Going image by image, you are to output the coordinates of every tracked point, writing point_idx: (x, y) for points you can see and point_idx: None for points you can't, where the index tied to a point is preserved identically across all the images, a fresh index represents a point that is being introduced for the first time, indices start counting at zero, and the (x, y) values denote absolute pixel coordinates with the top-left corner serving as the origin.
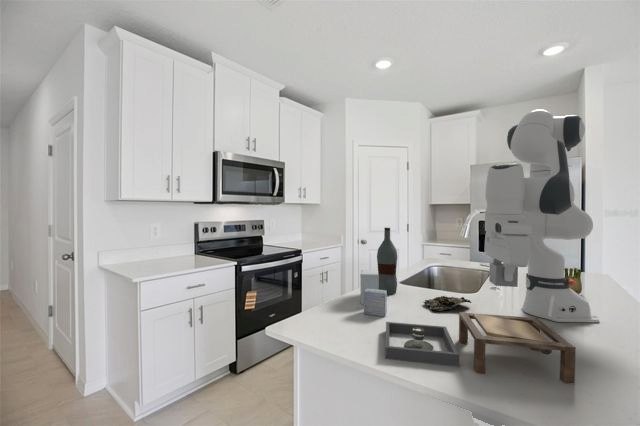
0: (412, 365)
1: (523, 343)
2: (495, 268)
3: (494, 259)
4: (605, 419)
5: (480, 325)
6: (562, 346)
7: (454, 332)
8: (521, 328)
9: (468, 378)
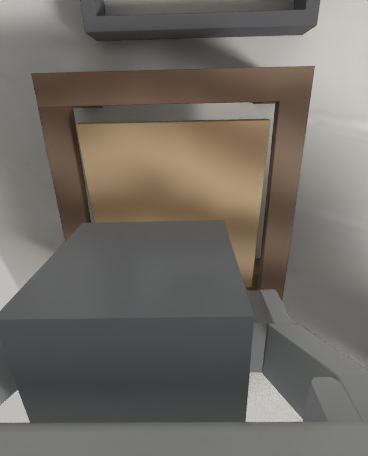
0: None
1: (60, 216)
2: (36, 298)
3: (319, 412)
4: (8, 267)
5: (160, 121)
6: None
7: (339, 76)
8: None
9: (43, 56)
